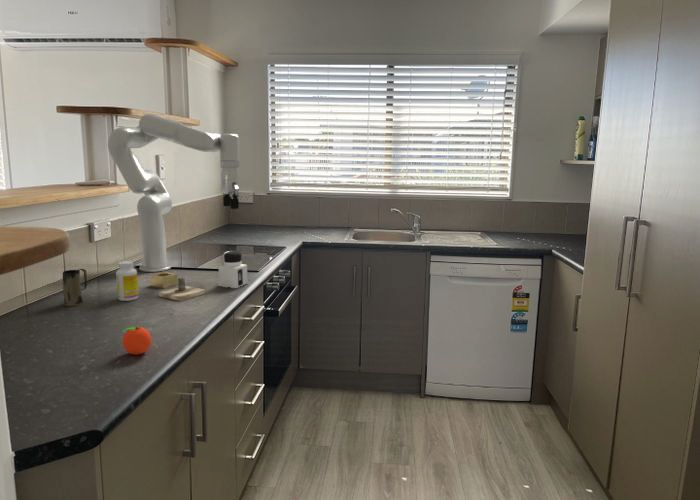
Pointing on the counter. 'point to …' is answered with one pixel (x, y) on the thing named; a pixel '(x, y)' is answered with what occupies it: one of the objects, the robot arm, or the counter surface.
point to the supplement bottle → (127, 281)
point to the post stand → (181, 291)
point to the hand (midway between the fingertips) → (230, 207)
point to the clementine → (136, 340)
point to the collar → (164, 279)
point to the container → (232, 270)
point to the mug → (73, 287)
